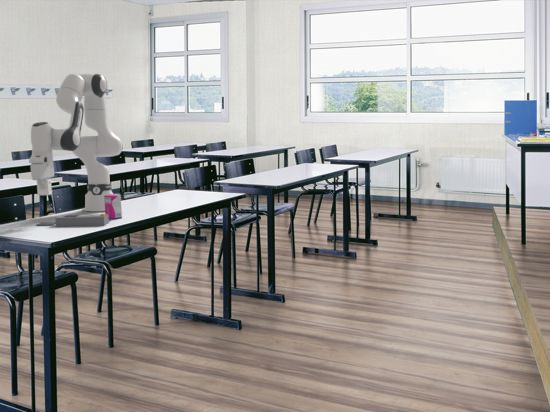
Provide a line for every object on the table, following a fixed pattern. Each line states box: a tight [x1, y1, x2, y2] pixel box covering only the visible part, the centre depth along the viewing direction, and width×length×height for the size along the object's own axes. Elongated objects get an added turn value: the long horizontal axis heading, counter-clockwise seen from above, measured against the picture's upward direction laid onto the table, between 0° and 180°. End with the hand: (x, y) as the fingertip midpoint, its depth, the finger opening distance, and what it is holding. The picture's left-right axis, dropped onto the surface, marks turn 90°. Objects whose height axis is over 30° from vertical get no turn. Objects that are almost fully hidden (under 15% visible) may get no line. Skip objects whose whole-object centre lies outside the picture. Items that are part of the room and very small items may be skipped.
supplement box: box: [104, 193, 123, 220], centre depth 317 cm, size 6×6×12 cm
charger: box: [36, 178, 53, 196], centre depth 300 cm, size 4×5×7 cm
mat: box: [35, 221, 55, 227], centre depth 302 cm, size 7×7×1 cm
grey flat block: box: [54, 212, 112, 227], centre depth 304 cm, size 16×22×5 cm
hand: (44, 188), depth 300 cm, fingers closed on charger, 4 cm apart
